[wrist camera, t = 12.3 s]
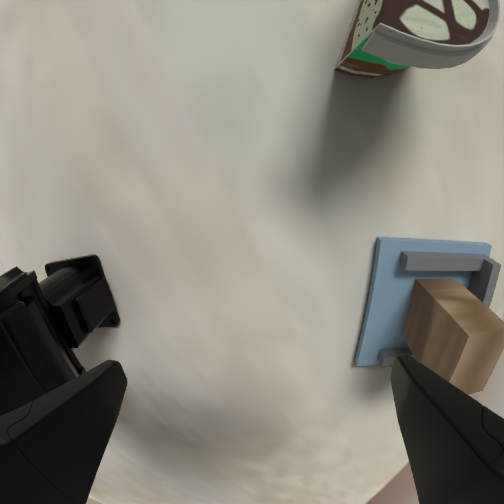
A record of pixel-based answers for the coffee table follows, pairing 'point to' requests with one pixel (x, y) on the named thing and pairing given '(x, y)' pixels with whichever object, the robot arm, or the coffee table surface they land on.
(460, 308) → the walnut block
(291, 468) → the coffee table surface
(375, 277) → the cradle
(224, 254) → the coffee table surface
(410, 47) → the food container
